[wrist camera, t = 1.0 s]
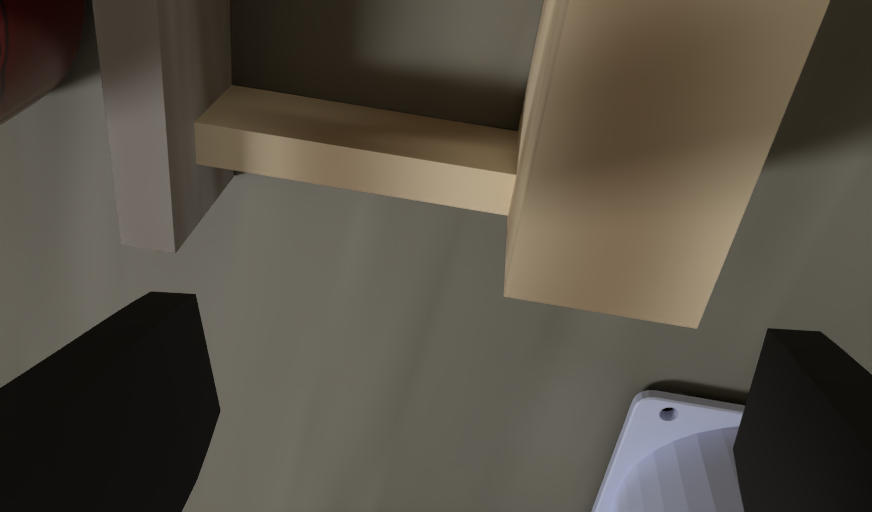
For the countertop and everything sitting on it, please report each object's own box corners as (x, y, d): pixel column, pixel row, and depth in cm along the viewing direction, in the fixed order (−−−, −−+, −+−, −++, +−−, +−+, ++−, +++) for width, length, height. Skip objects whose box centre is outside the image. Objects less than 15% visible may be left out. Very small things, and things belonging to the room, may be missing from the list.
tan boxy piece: (766, -152, 14) (879, -123, 10) (637, 243, 19) (672, 388, 15) (165, -244, 15) (-6, -259, 10) (188, 169, 19) (81, 288, 15)
